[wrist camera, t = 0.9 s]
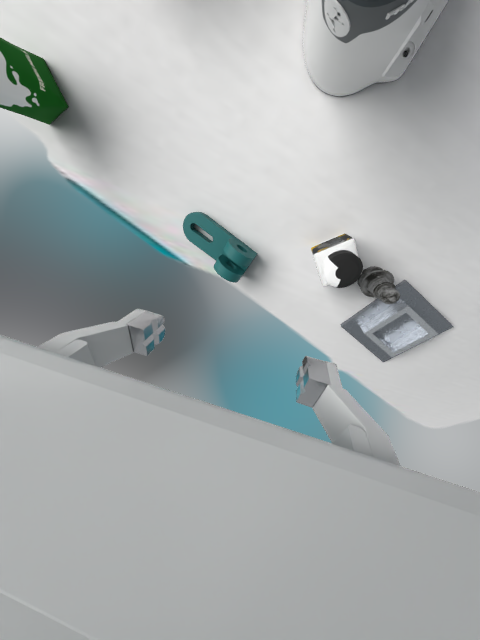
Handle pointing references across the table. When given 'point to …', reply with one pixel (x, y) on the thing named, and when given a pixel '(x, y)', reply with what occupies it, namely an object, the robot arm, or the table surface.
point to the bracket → (219, 246)
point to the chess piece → (378, 285)
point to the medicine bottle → (337, 261)
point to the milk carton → (28, 85)
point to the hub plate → (396, 323)
